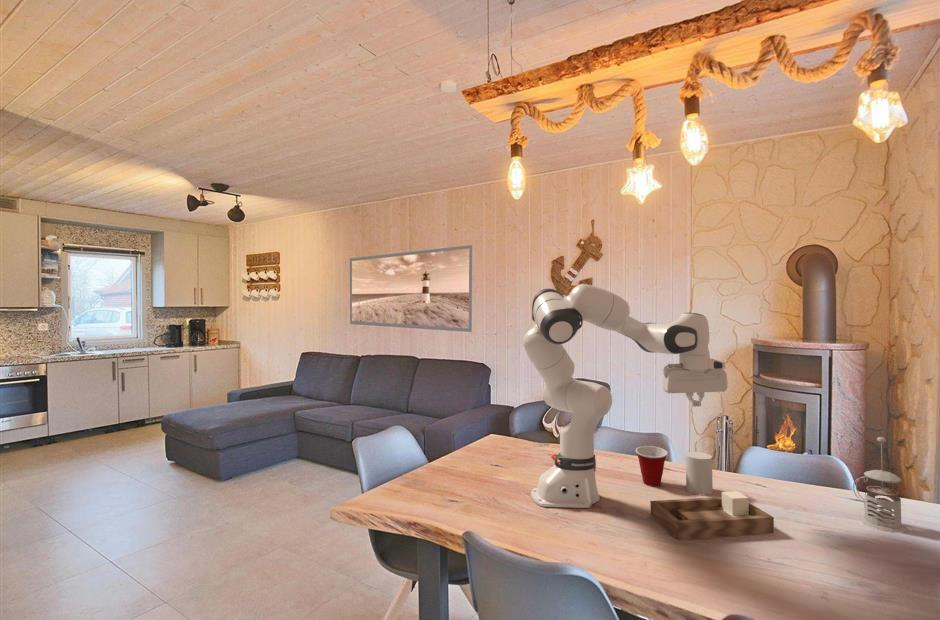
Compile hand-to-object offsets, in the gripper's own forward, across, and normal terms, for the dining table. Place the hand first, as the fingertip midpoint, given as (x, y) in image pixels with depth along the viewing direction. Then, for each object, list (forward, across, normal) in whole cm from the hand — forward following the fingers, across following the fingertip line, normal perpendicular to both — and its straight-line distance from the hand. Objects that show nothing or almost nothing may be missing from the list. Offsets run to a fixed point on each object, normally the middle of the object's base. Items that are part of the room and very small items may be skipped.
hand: (695, 406), depth 150 cm
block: (+29, +5, -12) cm, 32 cm away
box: (+31, -5, -14) cm, 35 cm away
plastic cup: (+31, -6, +18) cm, 37 cm away
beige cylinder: (+31, +7, +10) cm, 34 cm away
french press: (+31, +43, -20) cm, 57 cm away
